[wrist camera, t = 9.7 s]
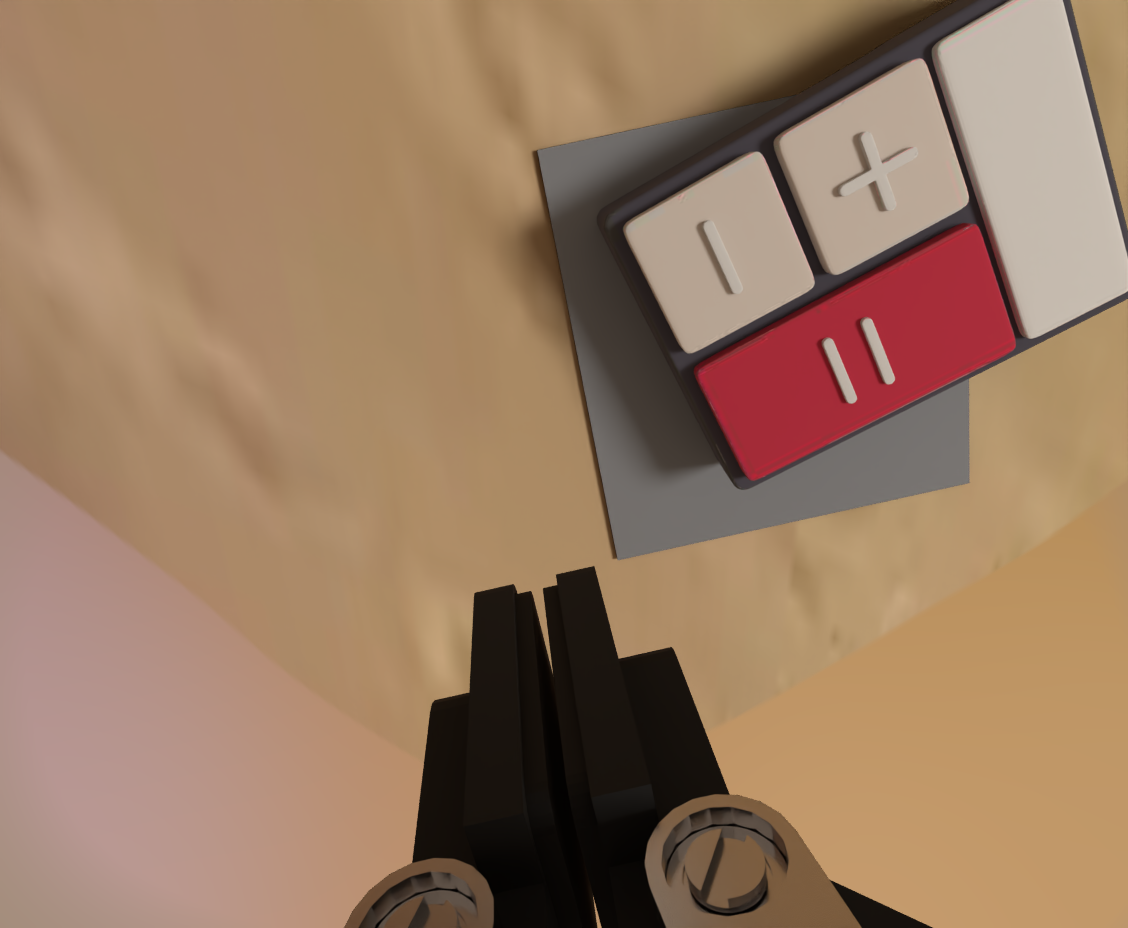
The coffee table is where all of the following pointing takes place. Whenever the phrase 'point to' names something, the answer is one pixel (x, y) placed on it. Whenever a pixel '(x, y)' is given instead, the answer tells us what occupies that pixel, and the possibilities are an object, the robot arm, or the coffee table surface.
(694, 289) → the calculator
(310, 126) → the coffee table surface
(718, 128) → the desk mat
